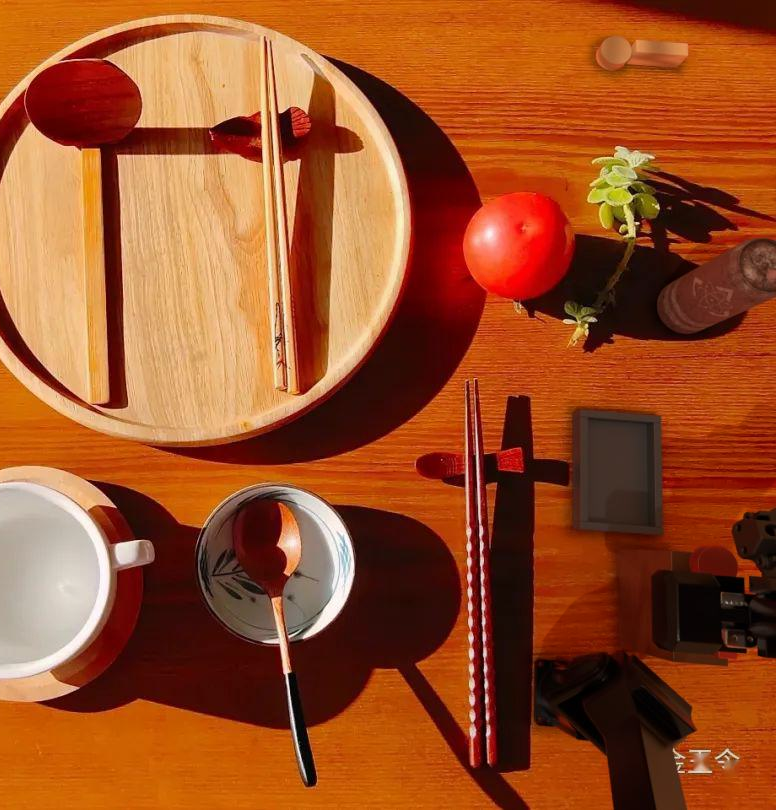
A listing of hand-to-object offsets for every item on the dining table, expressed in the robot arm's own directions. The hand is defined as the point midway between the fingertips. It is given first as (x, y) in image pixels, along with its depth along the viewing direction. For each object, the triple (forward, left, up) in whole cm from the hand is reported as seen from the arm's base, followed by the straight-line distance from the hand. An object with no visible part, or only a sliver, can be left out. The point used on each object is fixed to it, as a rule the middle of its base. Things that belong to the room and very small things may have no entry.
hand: (711, 608), depth 69 cm
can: (+32, -5, -12) cm, 34 cm away
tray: (+13, +3, -12) cm, 18 cm away
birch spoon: (+62, 0, -12) cm, 64 cm away
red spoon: (+1, 0, 0) cm, 1 cm away
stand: (0, 0, -12) cm, 12 cm away
